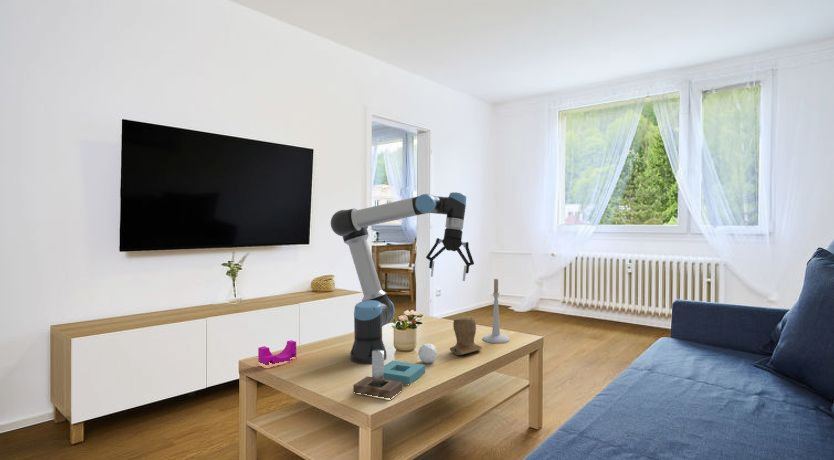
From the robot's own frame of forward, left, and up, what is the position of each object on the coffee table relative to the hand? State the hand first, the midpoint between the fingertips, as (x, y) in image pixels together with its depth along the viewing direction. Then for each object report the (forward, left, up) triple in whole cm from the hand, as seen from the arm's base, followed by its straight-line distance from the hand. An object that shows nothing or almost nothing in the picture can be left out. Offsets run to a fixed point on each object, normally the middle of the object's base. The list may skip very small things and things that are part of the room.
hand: (447, 278), depth 188 cm
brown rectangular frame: (-8, -45, -33) cm, 57 cm away
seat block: (-8, -28, -33) cm, 44 cm away
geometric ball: (-5, -9, -34) cm, 35 cm away
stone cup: (+4, +11, -34) cm, 36 cm away
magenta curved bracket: (-61, -34, -34) cm, 77 cm away
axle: (-8, -45, -33) cm, 57 cm away
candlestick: (+12, +36, -34) cm, 51 cm away
